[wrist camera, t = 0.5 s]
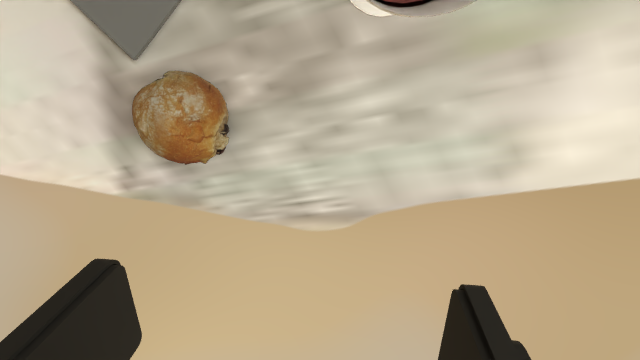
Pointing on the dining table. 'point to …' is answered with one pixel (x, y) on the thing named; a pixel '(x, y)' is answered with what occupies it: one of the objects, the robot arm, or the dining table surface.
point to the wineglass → (410, 7)
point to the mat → (128, 20)
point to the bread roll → (182, 118)
